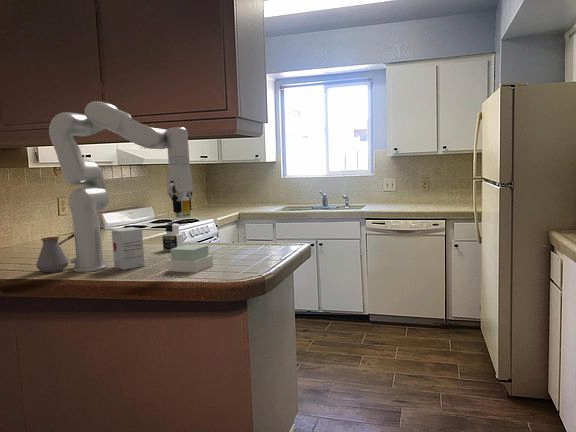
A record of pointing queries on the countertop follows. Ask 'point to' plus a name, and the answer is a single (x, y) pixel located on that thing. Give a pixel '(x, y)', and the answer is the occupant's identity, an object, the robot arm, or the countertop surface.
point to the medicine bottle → (172, 237)
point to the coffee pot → (52, 255)
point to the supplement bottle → (184, 206)
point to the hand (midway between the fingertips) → (182, 210)
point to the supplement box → (128, 248)
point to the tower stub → (190, 258)
